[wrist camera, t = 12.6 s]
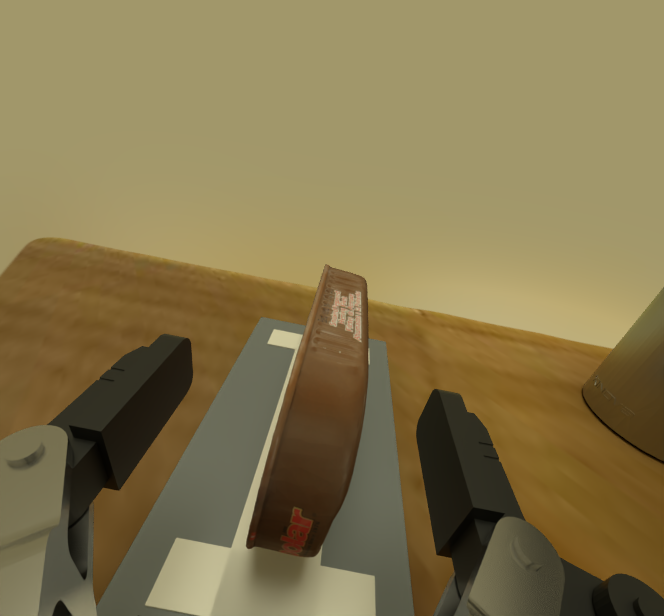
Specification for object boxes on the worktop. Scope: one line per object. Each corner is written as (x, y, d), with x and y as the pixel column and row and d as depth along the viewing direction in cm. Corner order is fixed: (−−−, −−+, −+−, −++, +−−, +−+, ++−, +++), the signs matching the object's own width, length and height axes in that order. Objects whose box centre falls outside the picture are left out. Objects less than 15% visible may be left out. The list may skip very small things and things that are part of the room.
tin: (305, 344, 24) (322, 242, 20) (344, 352, 24) (370, 252, 20) (233, 591, 11) (238, 444, 7) (318, 608, 11) (376, 472, 7)
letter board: (381, 355, 27) (385, 341, 26) (411, 740, 10) (427, 732, 9) (260, 331, 27) (261, 316, 26) (75, 676, 10) (62, 663, 9)
